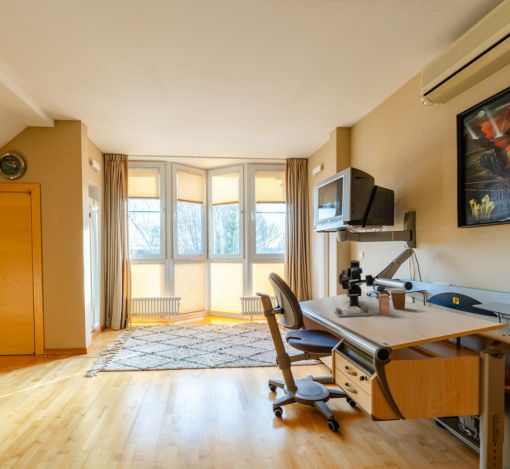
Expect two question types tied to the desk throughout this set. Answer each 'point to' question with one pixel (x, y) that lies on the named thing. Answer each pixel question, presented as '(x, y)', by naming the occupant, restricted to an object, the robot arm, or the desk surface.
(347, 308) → the socket plate
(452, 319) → the desk surface
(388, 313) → the peg
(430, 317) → the desk surface
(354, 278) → the robot arm
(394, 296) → the disposable coffee cup
